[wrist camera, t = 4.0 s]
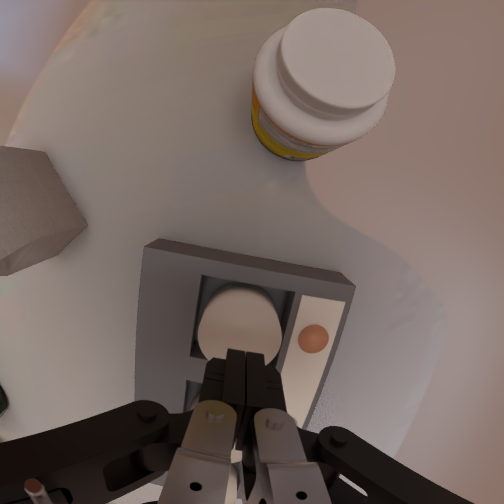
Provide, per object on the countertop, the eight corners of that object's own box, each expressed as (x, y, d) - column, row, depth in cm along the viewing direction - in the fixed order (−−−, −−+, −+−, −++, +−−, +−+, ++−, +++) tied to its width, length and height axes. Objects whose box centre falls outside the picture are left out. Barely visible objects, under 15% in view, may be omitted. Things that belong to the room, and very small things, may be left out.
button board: (158, 238, 19) (142, 247, 16) (340, 273, 20) (357, 287, 17) (145, 457, 23) (137, 482, 20) (270, 478, 24) (272, 503, 20)
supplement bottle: (290, 64, 17) (326, -31, 7) (354, 121, 18) (442, 70, 8) (231, 121, 18) (216, 51, 8) (298, 181, 19) (354, 170, 9)
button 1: (184, 450, 20) (179, 477, 17) (241, 459, 20) (241, 487, 17) (181, 479, 20) (176, 504, 18) (232, 487, 21) (231, 513, 18)
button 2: (210, 275, 18) (203, 291, 15) (283, 288, 18) (290, 307, 16) (200, 340, 19) (193, 365, 16) (268, 352, 19) (271, 378, 16)
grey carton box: (45, 152, 18) (-56, 140, 8) (88, 224, 19) (-13, 253, 9) (17, 184, 18) (-80, 190, 8) (57, 255, 19) (-39, 296, 9)
